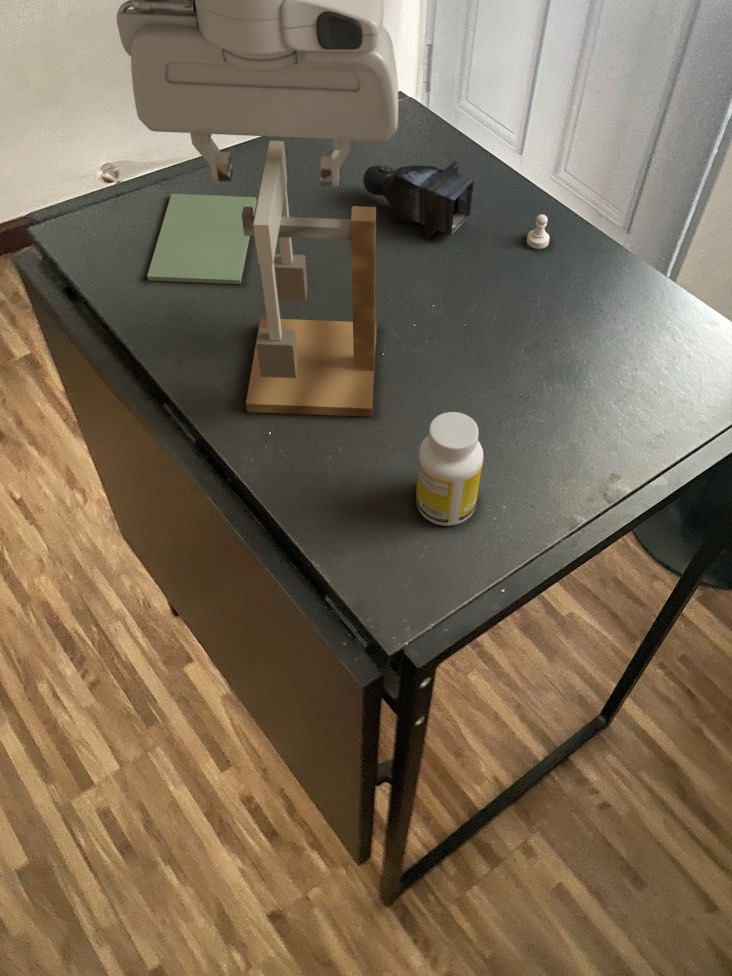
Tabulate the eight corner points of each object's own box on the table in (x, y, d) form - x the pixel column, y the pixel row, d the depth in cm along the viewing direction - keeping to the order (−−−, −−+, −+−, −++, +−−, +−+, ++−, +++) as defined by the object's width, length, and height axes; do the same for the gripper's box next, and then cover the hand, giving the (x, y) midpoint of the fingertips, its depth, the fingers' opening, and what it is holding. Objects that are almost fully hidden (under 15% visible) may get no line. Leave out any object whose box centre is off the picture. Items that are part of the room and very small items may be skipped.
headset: (261, 377, 76) (238, 228, 63) (275, 287, 83) (258, 136, 70) (296, 378, 76) (281, 229, 63) (307, 288, 83) (296, 138, 70)
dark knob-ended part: (378, 183, 102) (378, 131, 96) (473, 219, 98) (479, 168, 93) (349, 209, 98) (348, 158, 93) (447, 248, 95) (452, 197, 90)
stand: (247, 412, 80) (219, 254, 65) (261, 326, 87) (239, 165, 72) (372, 417, 80) (372, 260, 65) (376, 331, 87) (378, 171, 72)
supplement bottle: (468, 476, 77) (480, 402, 68) (481, 524, 74) (495, 452, 65) (410, 482, 76) (415, 408, 68) (420, 531, 73) (427, 459, 65)
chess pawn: (541, 233, 97) (547, 206, 94) (552, 246, 96) (558, 219, 93) (522, 238, 97) (527, 211, 94) (532, 251, 95) (538, 224, 92)
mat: (147, 280, 90) (146, 276, 90) (172, 197, 98) (171, 193, 98) (240, 284, 90) (239, 280, 90) (256, 201, 99) (256, 197, 98)
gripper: (99, 14, 57) (145, 197, 68) (400, 27, 57) (395, 207, 68) (119, -28, 60) (159, 153, 72) (402, -14, 60) (397, 163, 72)
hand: (276, 180), depth 70 cm, fingers open, 8 cm apart
